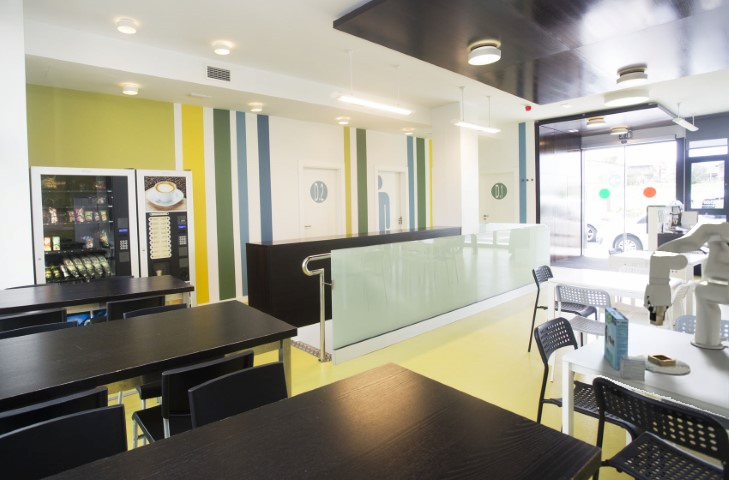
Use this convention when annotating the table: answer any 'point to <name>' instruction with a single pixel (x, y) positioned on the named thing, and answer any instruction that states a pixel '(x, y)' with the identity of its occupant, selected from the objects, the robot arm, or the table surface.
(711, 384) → the table surface
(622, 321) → the gum box
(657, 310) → the tan block
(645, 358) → the rosette plate
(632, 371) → the medicine box
